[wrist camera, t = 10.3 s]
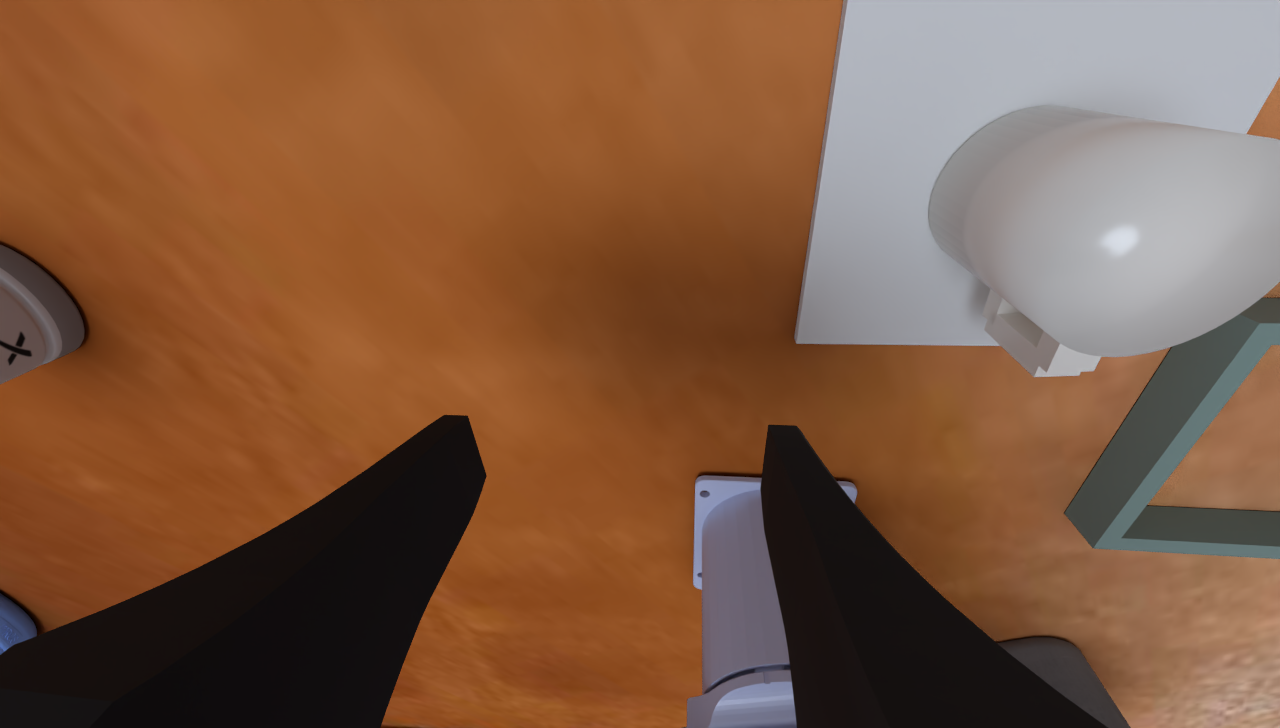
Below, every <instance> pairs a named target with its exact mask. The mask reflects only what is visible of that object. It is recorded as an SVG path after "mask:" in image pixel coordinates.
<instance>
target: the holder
mask: <svg viewBox="0 0 1280 728" xmlns="http://www.w3.org/2000/svg"><path fill="white" fill-rule="evenodd" d="M1271 345H1280V298H1261V299H1259V300H1258V301H1257V302H1255V303H1254V304H1253V305H1251V306H1250V307H1249V308H1247V309H1246V310H1244V311H1243V312H1241V313H1240V314H1238V315H1237V316H1235V317H1234V318H1232V319H1231V320H1229V321H1227V322H1225V323H1224V324H1222V325H1220V326H1218V327H1217V328H1215V329H1213V330H1211V331H1209V332H1207V333H1205V334H1203V335H1201V336H1198V337H1196V338H1193V339H1191V340H1189V341H1186V342H1184V343H1181V344H1178V345H1175V346H1173V347H1172V348H1171V350H1170V351H1169V353H1168V354H1167V356H1166V357H1165V359H1164V360H1163V362H1162V364H1161V365H1160V367H1159V368H1158V370H1157V371H1156V373H1155V374H1154V376H1153V377H1152V379H1151V381H1150V382H1149V384H1148V385H1147V387H1146V388H1145V390H1144V391H1143V393H1142V394H1141V396H1140V397H1139V399H1138V401H1137V402H1136V404H1135V405H1134V407H1133V408H1132V410H1131V411H1130V413H1129V414H1128V416H1127V418H1126V419H1125V421H1124V422H1123V424H1122V425H1121V427H1120V428H1119V430H1118V431H1117V433H1116V434H1115V436H1114V438H1113V439H1112V441H1111V442H1110V444H1109V445H1108V447H1107V448H1106V450H1105V451H1104V453H1103V454H1102V456H1101V458H1100V459H1099V461H1098V462H1097V464H1096V465H1095V467H1094V468H1093V470H1092V471H1091V473H1090V475H1089V476H1088V478H1087V479H1086V481H1085V482H1084V484H1083V485H1082V487H1081V488H1080V490H1079V491H1078V493H1077V495H1076V496H1075V498H1074V499H1073V501H1072V502H1071V504H1070V505H1069V507H1068V508H1067V510H1066V512H1065V513H1064V514H1065V515H1066V516H1067V517H1068V519H1069V520H1070V521H1071V522H1072V523H1073V525H1074V526H1075V527H1076V528H1077V530H1078V531H1079V532H1080V533H1081V534H1082V536H1083V537H1084V538H1085V539H1086V540H1087V542H1088V543H1089V544H1090V545H1091V547H1092V548H1095V549H1113V550H1130V551H1148V552H1166V553H1183V554H1201V555H1219V556H1237V557H1254V558H1272V559H1280V512H1269V511H1248V510H1226V509H1204V508H1183V507H1161V506H1147V504H1148V503H1149V502H1150V500H1151V499H1152V498H1153V497H1154V495H1155V494H1156V493H1157V491H1158V490H1159V489H1160V488H1161V486H1162V485H1163V484H1164V482H1165V481H1166V480H1167V479H1168V477H1169V476H1170V475H1171V473H1172V472H1173V471H1174V470H1175V468H1176V467H1177V466H1178V464H1179V463H1180V462H1181V461H1182V459H1183V458H1184V457H1185V455H1186V454H1187V453H1188V452H1189V450H1190V449H1191V448H1192V446H1193V445H1194V444H1195V443H1196V441H1197V440H1198V439H1199V437H1200V436H1201V435H1202V434H1203V432H1204V431H1205V430H1206V428H1207V427H1208V426H1209V425H1210V423H1211V422H1212V421H1213V419H1214V418H1215V417H1216V416H1217V414H1218V413H1219V412H1220V410H1221V409H1222V408H1223V407H1224V405H1225V404H1226V403H1227V401H1228V400H1229V399H1230V398H1231V396H1232V395H1233V394H1234V392H1235V391H1236V390H1237V389H1238V387H1239V386H1240V385H1241V383H1242V382H1243V381H1244V380H1245V378H1246V377H1247V376H1248V375H1249V373H1250V372H1251V371H1252V369H1253V368H1254V367H1255V366H1256V364H1257V363H1258V362H1259V360H1260V359H1261V358H1262V357H1263V355H1264V354H1265V353H1266V351H1267V350H1268V349H1269V348H1270V346H1271Z"/></svg>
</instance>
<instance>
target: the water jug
mask: <svg viewBox="0 0 1280 728" xmlns="http://www.w3.org/2000/svg"><path fill="white" fill-rule="evenodd" d="M36 636H37V629H36V626H35V624H34V622H33V621H32V619H31V618H30V617H29V616H28V615H27V614H26V613H25V612H24V611H23V610H22V609H21V608H20V607H19V606H18V605H16V604H15V603H14V602H12V601H11V600H10V599H8V598H7V597H5V596H4V595H2V594H1V593H0V655H1V654H2V653H3V652H4V651H6V650H7V649H8V648H10V647H11V646H13V645H14V644H17V643H20V642H23V641H25V640H28V639H31V638H33V637H36Z"/></svg>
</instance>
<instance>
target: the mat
mask: <svg viewBox="0 0 1280 728" xmlns="http://www.w3.org/2000/svg"><path fill="white" fill-rule="evenodd" d="M1279 77H1280V0H843V7H842V14H841V21H840V27H839V34H838V41H837V48H836V55H835V62H834V69H833V75H832V82H831V89H830V96H829V103H828V110H827V117H826V123H825V130H824V137H823V144H822V151H821V158H820V165H819V171H818V178H817V185H816V192H815V199H814V206H813V212H812V219H811V226H810V233H809V240H808V247H807V254H806V260H805V267H804V274H803V281H802V288H801V295H800V302H799V308H798V315H797V322H796V329H795V336H794V339H795V341H796V344H869V345H964V346H1001V345H999V344H998V343H997V342H996V341H995V340H994V339H993V338H992V337H991V336H990V335H989V334H988V333H987V332H986V331H985V330H984V328H985V325H986V322H987V319H986V318H985V317H984V316H983V315H982V314H983V311H984V308H985V305H986V302H987V299H988V296H989V293H990V290H991V289H990V288H989V287H988V286H987V285H985V284H984V283H983V282H982V281H980V280H979V279H978V278H977V277H975V276H974V275H973V274H971V273H970V272H969V271H968V270H966V269H965V268H964V267H963V266H961V265H960V264H959V263H958V262H956V261H955V260H954V259H953V258H951V257H950V256H949V255H947V254H946V253H945V252H944V251H943V250H942V249H941V248H940V247H939V246H938V244H937V243H936V241H935V239H934V237H933V235H932V232H931V229H930V224H929V206H930V200H931V196H932V193H933V190H934V187H935V185H936V182H937V180H938V178H939V176H940V175H941V173H942V171H943V169H944V168H945V166H946V165H947V163H948V162H949V161H950V159H951V158H952V157H953V156H954V154H955V153H956V152H957V151H958V150H959V149H960V148H961V147H962V146H963V145H964V144H965V143H966V142H967V141H968V140H969V139H970V138H971V137H972V136H974V135H975V134H976V133H977V132H979V131H980V130H981V129H983V128H985V127H986V126H988V125H989V124H991V123H992V122H994V121H996V120H998V119H1000V118H1002V117H1004V116H1006V115H1008V114H1011V113H1013V112H1016V111H1019V110H1023V109H1026V108H1030V107H1036V106H1046V105H1055V106H1064V107H1071V108H1077V109H1084V110H1090V111H1097V112H1103V113H1110V114H1117V115H1123V116H1130V117H1136V118H1143V119H1149V120H1156V121H1162V122H1169V123H1175V124H1182V125H1188V126H1195V127H1201V128H1208V129H1215V130H1221V131H1228V132H1234V133H1241V134H1246V133H1247V132H1248V130H1249V128H1250V127H1251V125H1252V123H1253V121H1254V120H1255V118H1256V116H1257V115H1258V113H1259V111H1260V109H1261V108H1262V106H1263V104H1264V103H1265V101H1266V99H1267V97H1268V96H1269V94H1270V92H1271V90H1272V89H1273V87H1274V85H1275V84H1276V82H1277V80H1278V78H1279Z"/></svg>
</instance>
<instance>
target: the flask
mask: <svg viewBox="0 0 1280 728" xmlns="http://www.w3.org/2000/svg"><path fill="white" fill-rule="evenodd" d="M997 644H998V645H1000V646H1001V647H1002V648H1003V649H1005V650H1006V651H1007V652H1008V653H1009V654H1011V655H1012V656H1013V657H1014V658H1016V659H1017V660H1018V661H1020V662H1021V663H1022V664H1023V665H1025V666H1026V667H1027V668H1029V669H1030V670H1031V671H1032V672H1034V673H1035V674H1036V675H1037V676H1039V677H1040V678H1041V679H1043V680H1044V681H1045V682H1046V683H1048V684H1049V685H1050V686H1052V687H1053V688H1054V689H1055V690H1057V691H1058V692H1059V693H1061V694H1062V695H1063V696H1065V697H1066V698H1068V699H1069V700H1070V701H1072V702H1073V703H1074V704H1076V705H1077V706H1079V707H1080V708H1081V709H1083V710H1084V711H1086V712H1087V713H1088V714H1090V715H1091V716H1093V717H1094V718H1095V719H1097V720H1098V721H1100V722H1101V723H1102V724H1104V725H1105V726H1107V727H1108V728H1130V726H1129V725H1128V723H1127V721H1126V720H1125V718H1124V717H1123V715H1122V714H1121V712H1120V711H1119V709H1118V708H1117V706H1116V705H1115V703H1114V702H1113V700H1112V699H1111V697H1110V696H1109V694H1108V692H1107V691H1106V689H1105V688H1104V686H1103V685H1102V683H1101V682H1100V680H1099V679H1098V677H1097V676H1096V674H1095V673H1094V671H1093V670H1092V668H1091V667H1090V665H1089V664H1088V662H1087V660H1086V659H1085V657H1084V656H1083V654H1082V653H1081V651H1080V650H1079V649H1078V648H1077V647H1075V646H1074V645H1072V644H1071V643H1069V642H1066V641H1064V640H1060V639H1056V638H1052V637H1031V638H1025V639H1018V640H1012V641H1006V642H1001V643H997Z"/></svg>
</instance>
